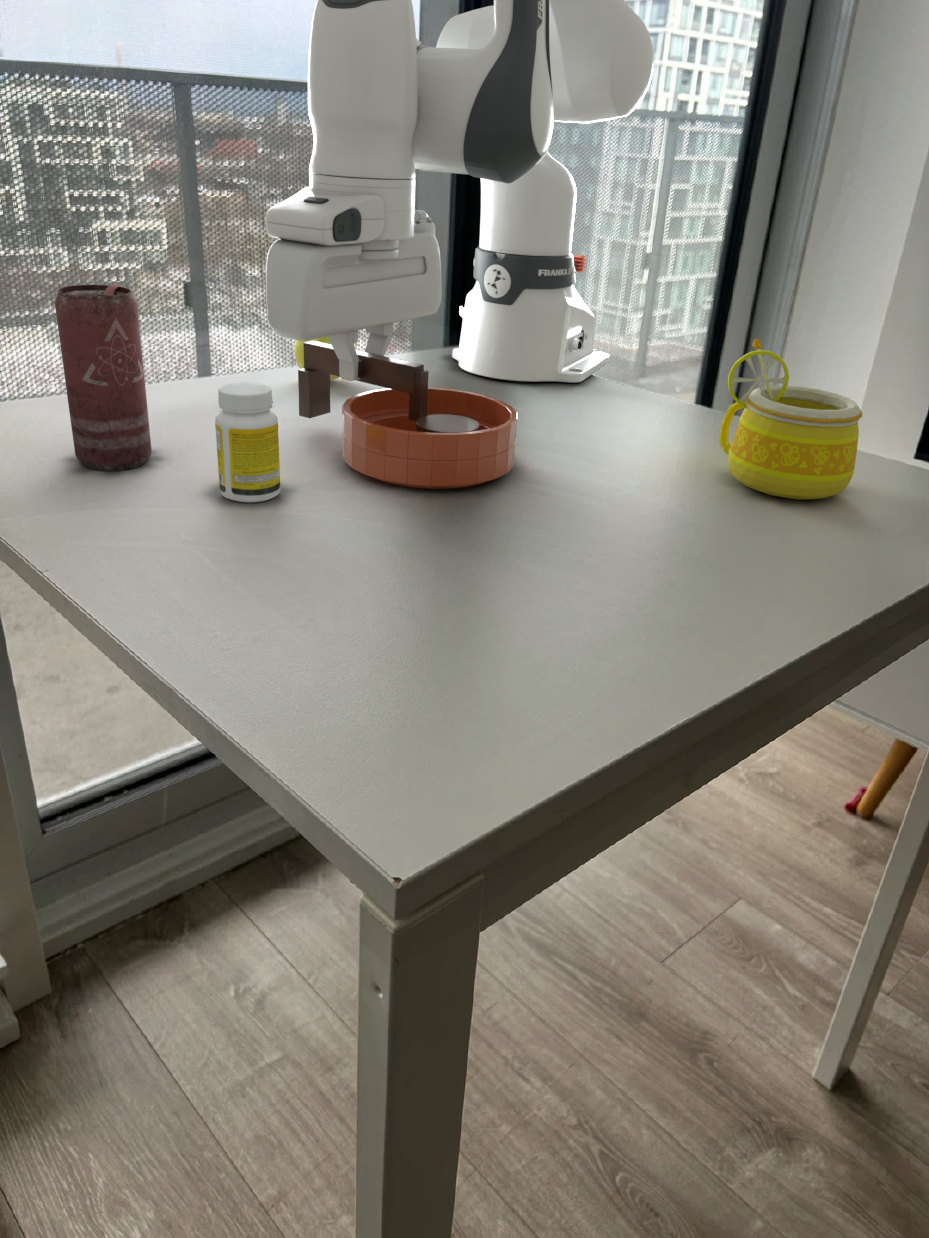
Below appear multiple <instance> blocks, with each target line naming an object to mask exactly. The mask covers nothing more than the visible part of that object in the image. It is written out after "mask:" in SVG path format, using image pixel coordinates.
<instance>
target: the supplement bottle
mask: <svg viewBox="0 0 929 1238" xmlns="http://www.w3.org/2000/svg"><path fill="white" fill-rule="evenodd" d="M217 392H218V394H217V395H218V396H217V397H218V407H219V409H220V411H219V412H217V413H216V416H215V418H214V425H215V426H214V427H215V437H216V438H215V440H216V454H217V470H218V471H217V472H218V484H219V493H220V494H221V496H222V497H224V498H225V499H228V500H230V501H235V502H240V503H261V502H266V501H269V500H271V499H274V498H275V497H277V496H278V495H279V494H280V492H281V469H280V468H281V466H280V464H281V463H280V441H279V437H280V436H279V420H278V416H277V414H276V413H275V412H274V411H272V410H271V409H273V404H274V399H273V389H272V388H271V387H270V386H269V385H267V384H262V383H257V382H233V383H227V384H223V385H221V386H219V387H218V390H217Z"/></svg>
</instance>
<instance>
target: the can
mask: <svg viewBox="0 0 929 1238" xmlns="http://www.w3.org/2000/svg"><path fill="white" fill-rule="evenodd" d="M138 304H139V303H138V301H137V299H136V297H135V296H134V294H133V290H132V289H130V288H128V287H125V286H120V285H119V284H110V285H109V284H77V285H68V286H63V287H60V288H58V290H57V295H56V298H55V300H54V307H55V314H56V316H55V317H56V323H57V330H58V331H57V332H58V338H59V346H60V352H61V360H62V367H63V375H64V382H65V389H66V397H67V404H68V411H69V418H70V425H71V426H70V428H71V434H72V440H73V441H72V442H73V448H74V449H73V450H74V456H75V458H76V459H77V460H78V462H79V463H80V465H82V466H83V467H86V468H87V469H90V470H91V469H92V470H95V471H105V472H107V471H108V472H112V471H114V472H115V471H116V472H117V471H125V470H130V469H131V470H132V469H135V468H139V467H142V466H143V465H145V464H147V463H148V462H149V460H150V459H151V456H152V453H153V451H152V440H151V430H150V429H151V428H150V420H149V419H150V418H149V409H148V398H147V388H146V377H145V368H144V357H143V346H142V337H141V336H142V335H141V327H140V316H139V315H140V314H139V305H138Z"/></svg>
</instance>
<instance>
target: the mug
mask: <svg viewBox="0 0 929 1238" xmlns="http://www.w3.org/2000/svg"><path fill="white" fill-rule="evenodd" d="M762 346H763V345H762V341H761V340H760V339H759V338H755V339H753V341H752V348H753V349H754V351H753V350H752V351H750V352H747V353H745V354H743V355H742V356H741V357H740V358H738V359H737V360H736V361H735V362H734V364H733V366H732V367H731V368H730V369H729V373H728V377H727V387H728V392H729V394H730V397H731V398H732V399H733V400H734V401H735V402H734V403H732V404H730V405H729V406H728V408H727V409H726V411H725V413H724V417H723V419H722V421H721V425H720V429H719V440H718V441H719V442H718V443H719V445H720V448H721V450H723V452H724V453H725V454H726V455H727V456H728V457H727V464H728V469H729V471H730V472H729V473H730V474H731V476H733V478H735V479H736V480H737V481H738V482H739V483H741V484H742V485H744V486H745V487H747V488H750V489H752V490H754V491H757V492H761V493H763V494H766V495H768V496H774V497H779V498H785V499H791V500H800V501H801V500H819V499H827V498H830V497H833V496H836V495H838V494H840V493H842V492H843V491H845V489H846V488H847V487H848V485H849V484H850V483H851V481H852V478H853V475H854V472H855V467H856V461H857V454H858V446H859V445H858V444H859V436H860V435H859V434H860V432H859V431H860V429H859V421H860V419H861V418H862V417H863V411H862V410H861V408H860V406H859V404H857V402H856V401H854V400H852V399H851V398H850V397H847V396H845V395H842V394H839V393H837V392H833V391H828V390H825V389H819V388H814V387H806V386H799V385H797V386H796V385H788V384H789V380H790V374H789V369H788V367H787V365H786V363H785V361H784V360H783V358H782V357H780V355H778V354H777V353H775V352H772V351H770V350H763V349H762ZM763 355H765V356H769V357H770V359H769V360H768V362H767V364H766V365H765V362H764V358H763ZM754 356H757V358H758V362H759V366H760V369H761V372H760V375H759V377H758V375H757V372H756V369H755V366H754V365H755V364H754V363H753V362H754V361H753V359H752V357H754ZM744 361H746V362H747V364H748V366H749V367H750V369H751V371H752V373H753V375H754V376H755V378H747V377H739V376H734V374H735V371H736V370H737V368H738V366H740V365H741V363H742V362H744ZM776 362H778V363H780V365H781V366H782V368H783V369H782V370H783V372H784V373H783V374H784V376H783V377H774V378H768V374H767V372H768V371H769V370H770V368H772V366H773V365H774V364H775V363H776ZM749 382H754V383H753V384H752V385H751V386H750V388H749V389H748V390H747V391H746V392H745V393H744V394H743V396H742V397H741V398H738V397H737V396H736V394H735V393H734V389H733V383H749ZM761 382H764V385H765V386H762V384H761ZM770 383H773V384H777V385H770ZM778 384H780V385H778ZM757 385H759V387H758V388H755V387H756V386H757ZM740 409H743V411H742V413H741V415H740V417H739V420H738V423H737V426H736V428H735V431H734V435H733V438H732V440H731V444H730V443H729V435H730V434H729V433H730V426H731V423H732V420H733V417H735V414H736V413H737V411H739V410H740Z"/></svg>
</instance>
